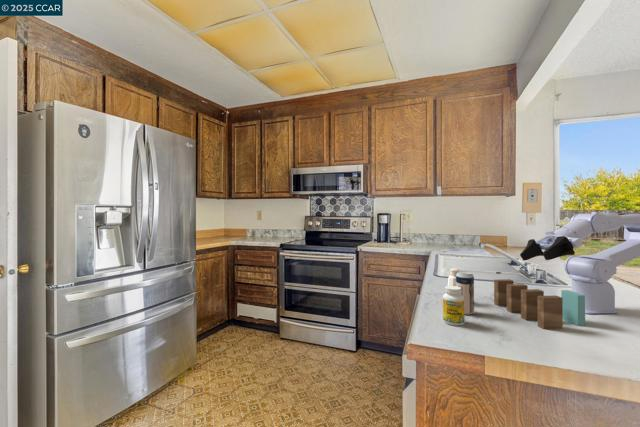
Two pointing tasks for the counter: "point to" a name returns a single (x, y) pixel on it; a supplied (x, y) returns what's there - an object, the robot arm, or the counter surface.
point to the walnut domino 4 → (550, 312)
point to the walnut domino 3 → (530, 303)
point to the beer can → (466, 290)
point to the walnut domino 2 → (514, 297)
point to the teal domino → (573, 307)
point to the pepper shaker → (452, 277)
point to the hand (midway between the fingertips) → (533, 257)
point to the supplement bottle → (453, 306)
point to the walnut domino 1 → (501, 291)
